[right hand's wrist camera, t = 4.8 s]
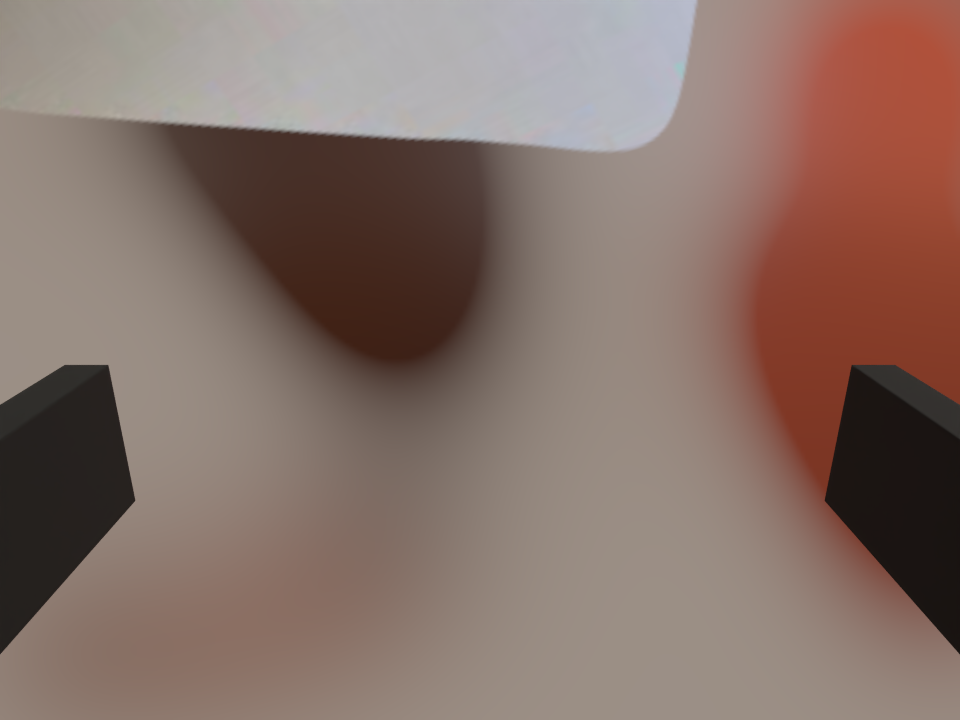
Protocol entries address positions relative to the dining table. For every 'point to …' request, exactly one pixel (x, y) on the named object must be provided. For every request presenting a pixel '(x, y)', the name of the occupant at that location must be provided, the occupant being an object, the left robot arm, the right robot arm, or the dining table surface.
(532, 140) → the dining table surface
